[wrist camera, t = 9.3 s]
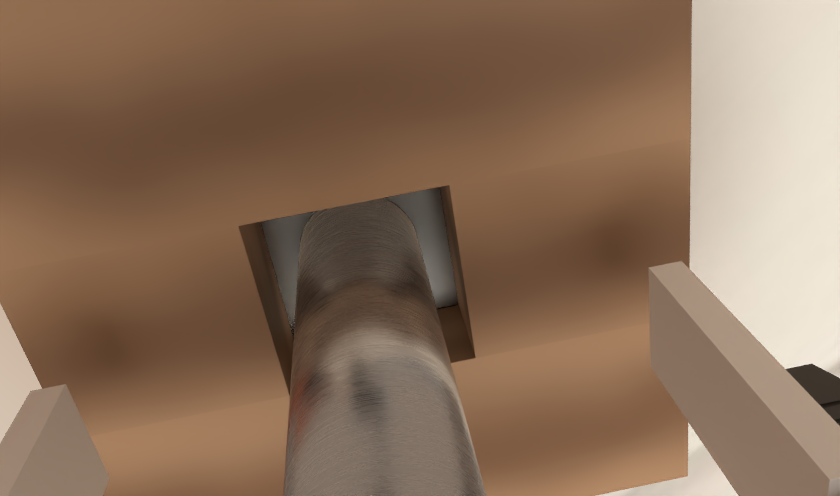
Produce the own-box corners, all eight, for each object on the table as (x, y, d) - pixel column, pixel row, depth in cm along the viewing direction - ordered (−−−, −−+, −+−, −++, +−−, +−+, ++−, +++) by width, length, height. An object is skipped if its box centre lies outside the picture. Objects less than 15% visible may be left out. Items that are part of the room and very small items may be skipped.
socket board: (-73, -4, 18) (-141, 14, 15) (640, -134, 19) (692, -136, 16) (160, 518, 26) (141, 590, 24) (651, 417, 27) (687, 476, 24)
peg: (287, 206, 22) (251, 520, 11) (407, 183, 22) (489, 471, 11) (314, 310, 23) (305, 671, 13) (426, 288, 23) (513, 627, 13)
